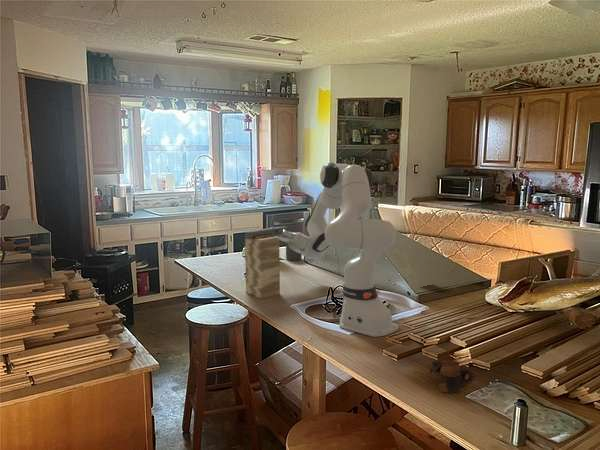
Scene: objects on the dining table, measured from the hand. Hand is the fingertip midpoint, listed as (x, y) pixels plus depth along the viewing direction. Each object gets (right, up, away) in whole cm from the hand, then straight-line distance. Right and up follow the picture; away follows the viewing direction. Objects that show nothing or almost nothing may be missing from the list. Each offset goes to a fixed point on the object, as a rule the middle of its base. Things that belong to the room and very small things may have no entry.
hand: (277, 230), depth 217 cm
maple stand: (-6, -28, -1) cm, 29 cm away
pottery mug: (+52, -42, -84) cm, 107 cm away
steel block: (-5, -2, -3) cm, 6 cm away
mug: (+9, -18, +65) cm, 68 cm away
